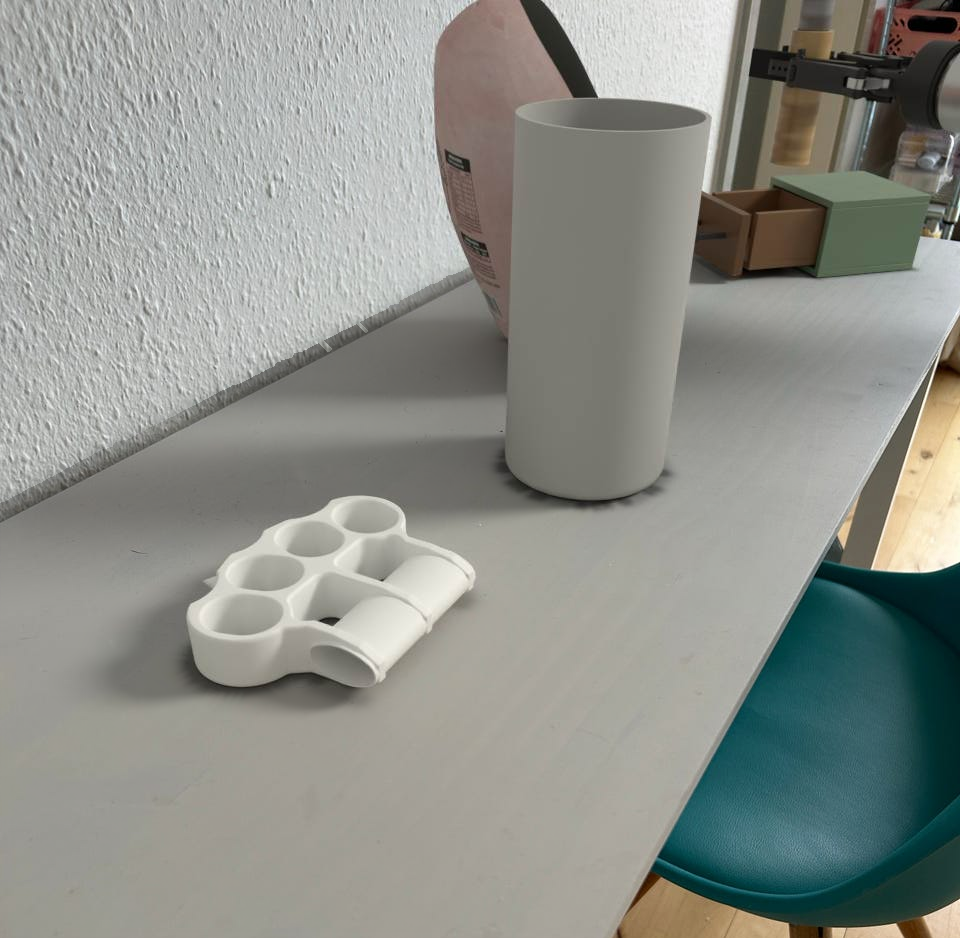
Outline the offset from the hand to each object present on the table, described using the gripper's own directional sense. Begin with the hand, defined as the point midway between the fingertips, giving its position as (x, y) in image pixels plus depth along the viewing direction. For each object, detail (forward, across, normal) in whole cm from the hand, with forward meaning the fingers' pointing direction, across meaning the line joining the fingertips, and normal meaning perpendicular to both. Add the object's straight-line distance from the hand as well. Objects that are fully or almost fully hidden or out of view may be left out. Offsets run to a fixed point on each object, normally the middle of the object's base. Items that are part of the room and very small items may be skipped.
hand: (768, 60), depth 111 cm
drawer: (-1, -2, -21) cm, 21 cm away
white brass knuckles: (-37, -80, -22) cm, 90 cm away
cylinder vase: (-31, -53, -22) cm, 65 cm away
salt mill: (-5, 0, -10) cm, 11 cm away
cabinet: (-6, +12, -22) cm, 26 cm away
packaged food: (-10, -41, -22) cm, 47 cm away
